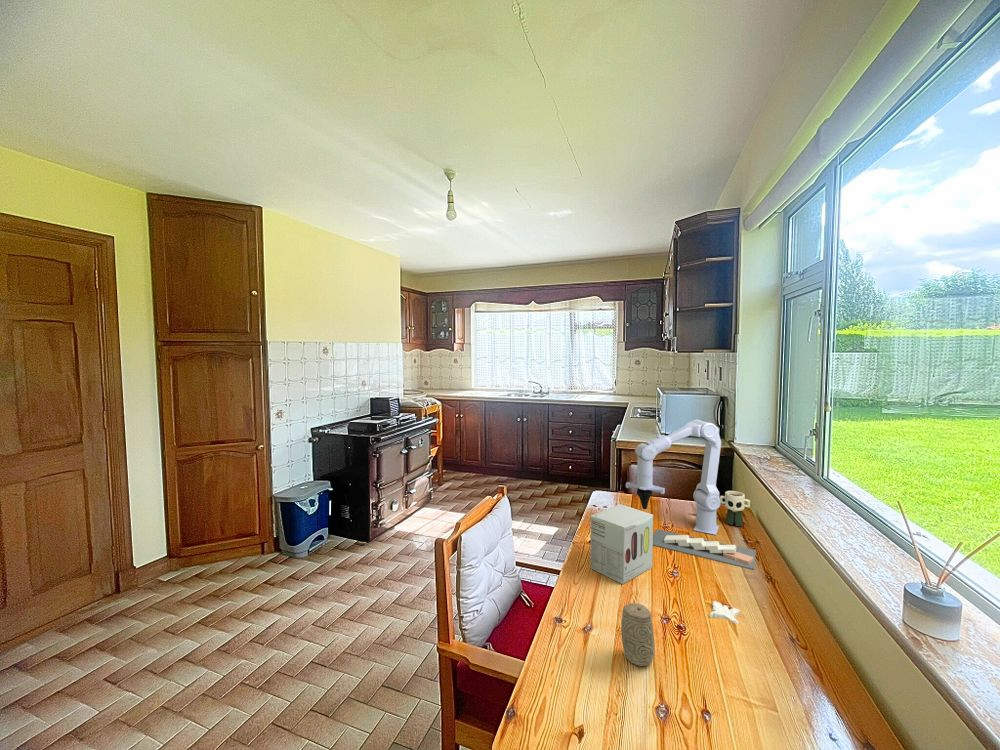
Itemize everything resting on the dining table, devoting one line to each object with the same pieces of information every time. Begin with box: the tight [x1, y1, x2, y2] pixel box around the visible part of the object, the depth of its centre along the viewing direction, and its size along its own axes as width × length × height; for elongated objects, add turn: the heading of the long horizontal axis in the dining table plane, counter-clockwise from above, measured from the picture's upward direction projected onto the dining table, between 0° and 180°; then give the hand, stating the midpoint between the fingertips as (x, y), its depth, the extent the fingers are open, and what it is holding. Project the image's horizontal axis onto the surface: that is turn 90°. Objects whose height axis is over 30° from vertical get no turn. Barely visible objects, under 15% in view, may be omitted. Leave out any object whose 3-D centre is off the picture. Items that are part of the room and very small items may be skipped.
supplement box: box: [590, 503, 654, 585], centre depth 137 cm, size 17×13×18 cm
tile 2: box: [678, 537, 705, 546], centre depth 151 cm, size 5×1×8 cm
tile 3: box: [693, 540, 720, 550], centre depth 148 cm, size 5×1×8 cm
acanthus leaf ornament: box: [709, 600, 741, 625], centre depth 112 cm, size 8×7×2 cm
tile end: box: [723, 552, 754, 565], centre depth 142 cm, size 5×1×8 cm
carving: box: [620, 602, 655, 667], centre depth 96 cm, size 6×8×12 cm
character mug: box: [719, 490, 751, 527], centre depth 171 cm, size 11×7×13 cm, turn 60°
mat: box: [653, 528, 757, 571], centre depth 151 cm, size 15×34×1 cm, turn 56°
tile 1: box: [664, 534, 690, 543], centre depth 154 cm, size 5×1×8 cm
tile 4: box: [710, 544, 737, 553], centre depth 145 cm, size 5×1×8 cm
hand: (644, 508), depth 164 cm, fingers closed
